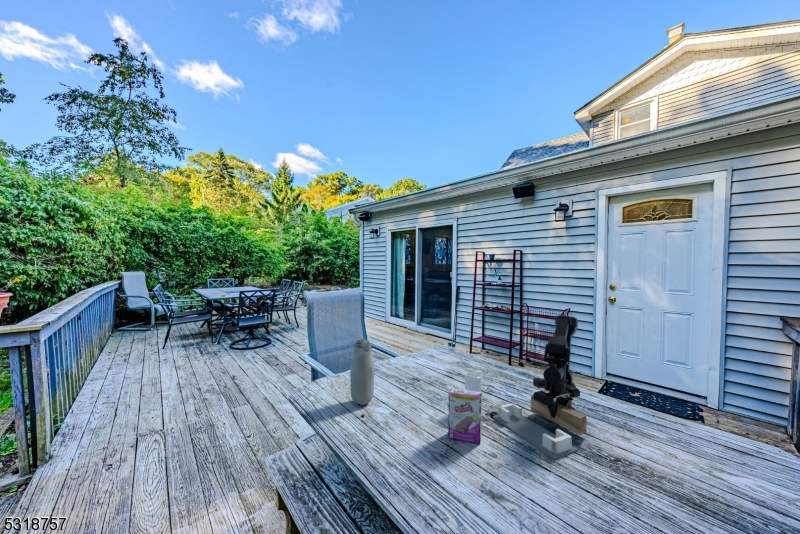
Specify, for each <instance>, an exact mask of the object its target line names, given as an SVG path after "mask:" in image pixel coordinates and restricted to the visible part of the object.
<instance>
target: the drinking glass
mask: <svg viewBox="0 0 800 534" xmlns="http://www.w3.org/2000/svg"><path fill="white" fill-rule="evenodd" d="M464 390H470V391H477V392H482V374H480V373H479V372H475V371H467V372H466V373H464Z"/></svg>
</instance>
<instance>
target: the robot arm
mask: <svg viewBox="0 0 800 534" xmlns="http://www.w3.org/2000/svg"><path fill="white" fill-rule="evenodd" d="M554 318H555V319H554V325H555V329H554V335H553V337H552V336H551V338H549V339H548V342H547V343H546V344H545V347H544V348H545V349H544V357H543V362H545V363H547V367H545V369H544V371H543V374H542V375H543V378H540V377H534V378H533V379H532V384H533V386H534V387H535V388H536V389H544V390H538V391H535V392H533V394H532V395H533V399H534V400H536V401H538V402H540V403H542V404H544V405H547V406H548V409H549V412H550V414H551V417H552V418H555V415H556V412H557V409H558V405H559V404H561V405H563V406H565V407H567V408H570V409H572V410H574V411H576V408H575V407H574V406H572V405H573V403H572V401H573V400H574V398H579V397H581V391H580V389H579V388H578V387H577V386H576V384H575V382H574V378H573V376H572V374H571V372H570V368H571V367H570V364H571V350H572V349H571V348H572V337H573V336H574V335H575V334H576V333H577V329H578V328H579V327H578V326H579V319H578V318H576V317H575V316H570V315H564V314H559V315H558V314H557V316H556V315H555V316H554Z"/></svg>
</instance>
